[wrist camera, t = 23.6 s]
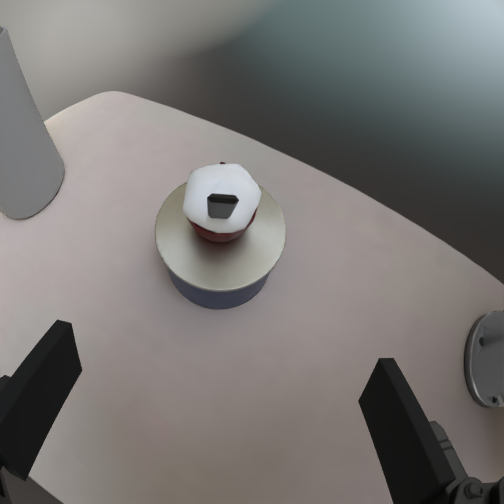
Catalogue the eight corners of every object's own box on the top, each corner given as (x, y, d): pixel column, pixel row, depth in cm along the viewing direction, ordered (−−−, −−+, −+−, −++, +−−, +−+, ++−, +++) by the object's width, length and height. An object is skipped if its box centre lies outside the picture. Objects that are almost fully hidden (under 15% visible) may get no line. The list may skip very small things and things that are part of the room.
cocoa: (210, 177, 31) (212, 81, 20) (267, 200, 30) (294, 107, 19) (164, 255, 27) (136, 170, 16) (228, 283, 26) (239, 210, 16)
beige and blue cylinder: (255, 205, 39) (264, 165, 32) (284, 296, 35) (303, 272, 28) (159, 223, 37) (148, 185, 30) (177, 321, 32) (166, 303, 25)
